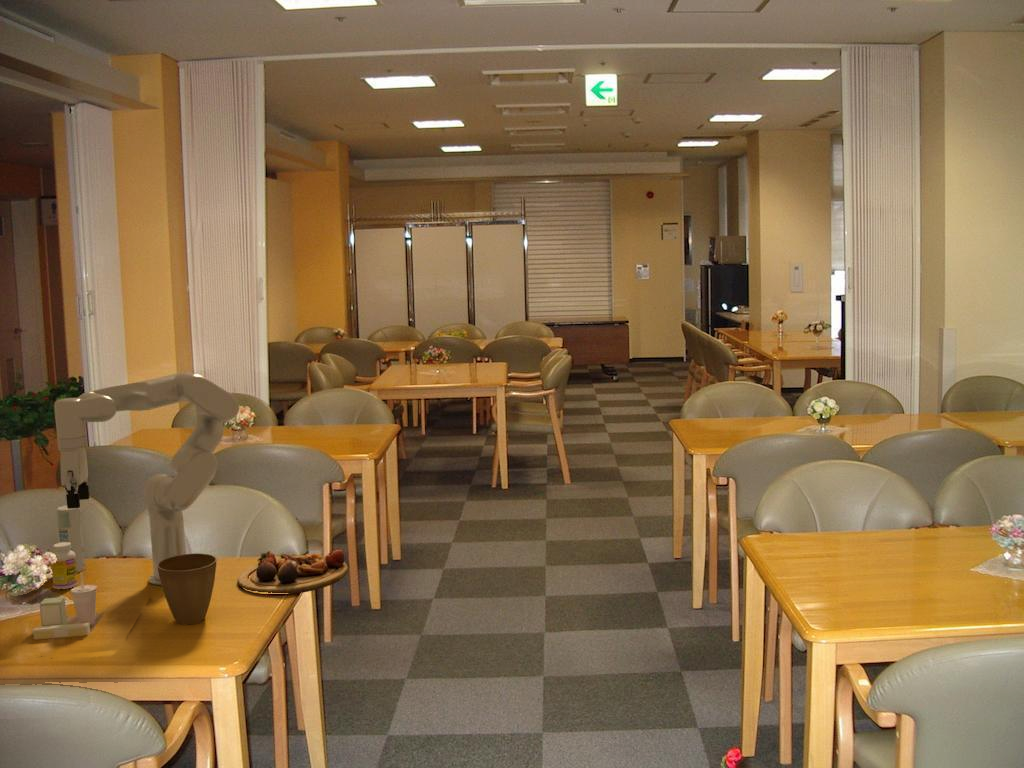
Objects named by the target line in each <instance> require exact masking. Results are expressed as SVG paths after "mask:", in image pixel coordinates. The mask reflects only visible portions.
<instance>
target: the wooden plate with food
mask: <svg viewBox="0 0 1024 768" xmlns="http://www.w3.org/2000/svg"><path fill="white" fill-rule="evenodd" d="M260 555H261V556H260V557H259V558H258V559H257V561H258V563H257V564H255V565H253V566H251V567H248V568H247V569H246V570H244V571H243V572H241V574H239V576H238V577H237V585H238V584H239V585H240V586H241V587H242V588H245V589H247V590H251V591H258V592H268V593H271V592H272V593H289V594H288V595H297V594H303V593H309V592H313V591H316V590H320V589H323V588H326V587H328V586H332V585H334V584H336V583H338V582H340V581H341V580H342V579H344V578H345V577H346V576H347V574H348V571H349V566H348V564H347V563H346V562H345V554H344V552H343V551H342V550H341V549H334V550H330V552H328V554H327V555H322V554H321V553H319V552H317V553H316V552H312V553H307V554H304V555H288V554H284V553H283V554H281V555H280V557H279V558H277V557H276V555H275V554H274V553H273V552H271V551H270V550H269V551H267V552H264V553H263V552H262V553H261V554H260ZM251 574H252V575H251ZM250 575H251V578H250V581H251V582H252V583H251V582H250V581H249V580H248V579H249V576H250ZM239 585H238V586H239Z"/></svg>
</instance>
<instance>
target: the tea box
mask: <svg viewBox="0 0 1024 768" xmlns="http://www.w3.org/2000/svg"><path fill="white" fill-rule="evenodd" d="M39 610H40V612H39V613H40V619H41V627H42V626H54V625H66V623H67V617H66V616H67V607H66V597H65V596H61V597H47V598H43V600H42V601H40V603H39Z"/></svg>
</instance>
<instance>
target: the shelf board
mask: <svg viewBox="0 0 1024 768" xmlns="http://www.w3.org/2000/svg"><path fill="white" fill-rule="evenodd" d="M104 614H105V612H98V613H96V612H95V624H93V625H91V626H90V633H91V632H92V630H93V629H95V627H96V625H97V624H98V622H99V621H100V620H101V618H103V616H104ZM66 617H67V623H66V625H67V624H79V622H78V617H77V614H72V615H70V614H69V615H66ZM58 638H59V639H60V638H61V637H58ZM33 639H34V638H33ZM35 640H36V639H34V641H35Z"/></svg>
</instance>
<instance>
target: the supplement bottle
mask: <svg viewBox="0 0 1024 768" xmlns="http://www.w3.org/2000/svg"><path fill="white" fill-rule="evenodd" d="M52 546H53V551H54V552H53V553H52V554H55V555H56V557H57V561H56V563H55V564H53V565H52V566H51V573H52V572H53V576H52V575H51V577H52V586H53V589H55V590H60V589H63V590H68V589H69V588H70V589H73V588H75V587H77V585H78V583H79V582H78V572H77V569H76V556H75V553H74V552H73V551H71V550H70V548H71V543H69V542H61V543H60V542H58V543H54V544H53V545H52ZM72 587H73V588H72Z"/></svg>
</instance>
